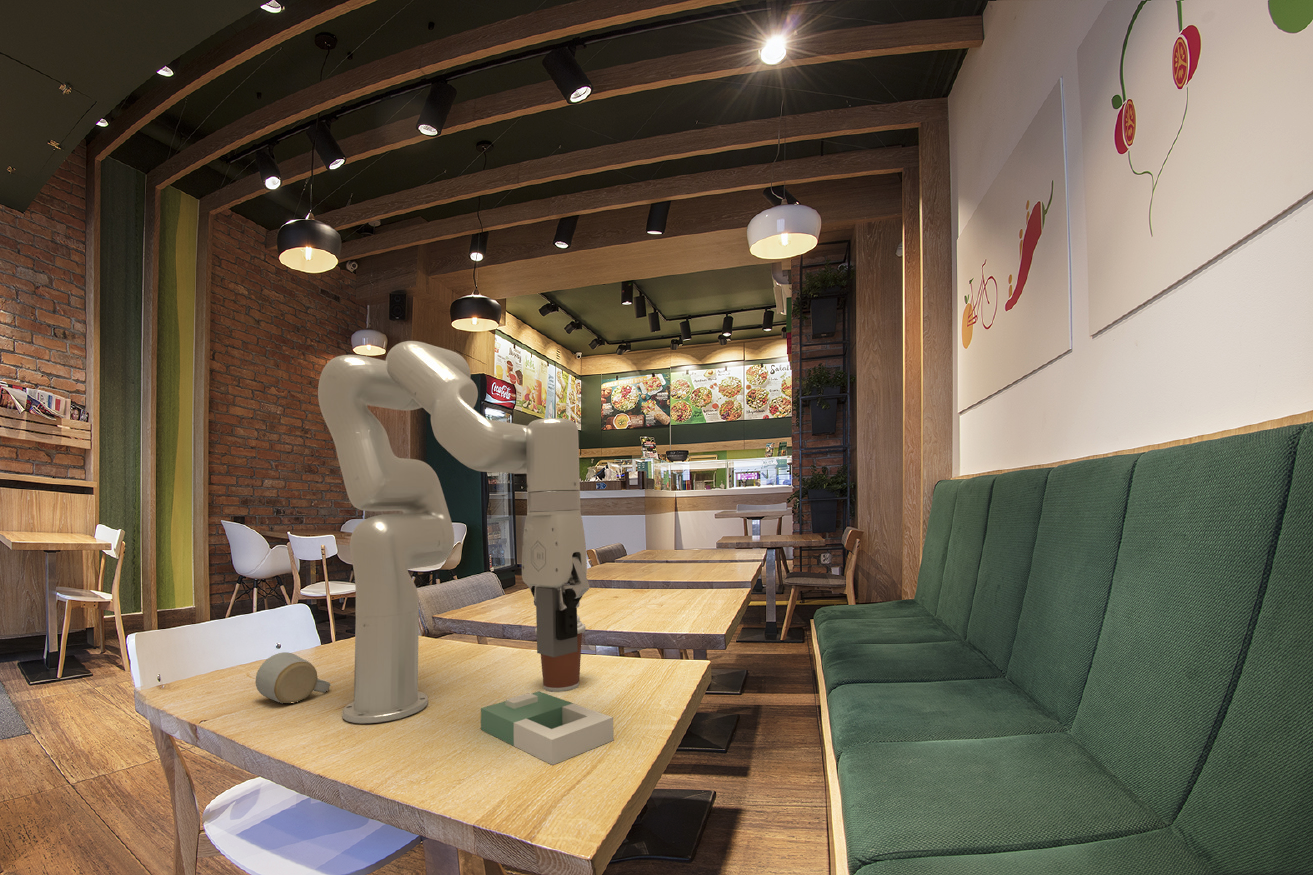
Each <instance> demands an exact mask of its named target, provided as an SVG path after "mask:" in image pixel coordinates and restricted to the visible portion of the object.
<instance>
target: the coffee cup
mask: <svg viewBox="0 0 1313 875" xmlns="http://www.w3.org/2000/svg"><path fill="white" fill-rule="evenodd" d="M580 619H581V618H580V615H578V614H577V631H578V634H577V647H578V651H577V652H573V653H569V654H565V655H561V656H557V657H551V656H547V655H543V654H540V661H541V662H540V664H541V673H542V685H543V690H545V691H547V692H552V693H553V692H554V693H556V692H557V693H559V692H566V691H567V692H568V691H572V690H575V689H577V688H578V687H579V686H580V678H581V677H580V674H581V656H582V641H583V640H582V638H583V633H584V632H585V631H587V630H586V628H587V627H586V625H585V624H584V623H583V622H582V621H581V620H580ZM534 634H535V636H537V626H536V627H535V629H534Z"/></svg>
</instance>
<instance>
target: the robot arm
mask: <svg viewBox="0 0 1313 875" xmlns="http://www.w3.org/2000/svg"><path fill="white" fill-rule="evenodd" d="M471 376H472V375H471V369H470V366H469V364H468V362H467V360H466V359H465V358H464V357H463V356H462V355H461V354H460V353H458V352H455V351H453V350H451V349H447V348H443V347H440V346H435V345H433V344H431V343H430V344H428V343H427V342H423V341H417V340H406V341H402V342H399V343H397V344H395V345H394V346H393V347H391V348H390V350H388V353H387V354H386V357H385V360H383V359H380V358H375V357H370V356H366V355H359V354H342V355H338V356H335V357H334V358H331V359H330V360H329V361H328V362H327V363H326V364H325V366H324V367H323V369H322V370H321V373H320V376H319V380H318V388H317V399H318V404H319V409H320V412H321V415H322V417H323V420H324V422H325V424H326V426H327V429H328V431H329V432H330V435H331V438H332V439H333V443H334V447H335V451H336V454H337V459H338V460H337V461H338V463H339V467H340V468H339V469H340V471H341V474H342V475H341V476H342V479H343V483H344V486H345V487H344V488H345V489H346V490H345V491H346V494H347V497H348V499H349V500H348V501H349V502H350V503H351V505H352V506H353V507H354V508H356V509H358V510H361V511H365V512H397V511H398V512H399V511H400V512H402V513H385V514H379V515H378V514H377V515H373V516H370V517H367V518H366V519H364V520H362V521H361V522H359V523H358V524H357V525H356V526H355V528H354V529H353V531H352V533H351V537H350V540H349V542H350V543H349V552H350V559H351V563H352V568H353V575H354V583H355V584H354V585H355V628H354V629H355V631H354V632H355V636H354V637H355V638H354V639H355V640H354V673H353V674H354V678H353V679H354V682H353V701H351V702H350V703H348V704H346V706H344V707H343V709H342V719H344V720H345V721H346V722H349V723H353V724H375V723H377V724H378V723H385V722H390V721H394V720H399V719H402V718H406V717H408V716H412V715H414V714H416V713H419V712H421V711H422V710H424V709H426V708H425V707H427V706H428V702H429V700H428V698H429V697H428V695H427V694H426V693H425V692H422V691H419V637H420V634H419V631H420V630H419V626H420V625H419V624H420V622H419V620H420V619H419V617H420V613H419V612H420V610H419V609H420V608H419V607H420V606H419V605H420V603H419V592H418V589H417V586H416V583H415V582H414V580H413V579H412V576H411V575H410V573H409V570H411V569H419V568H420V569H421V568H426V567H432V566H436V565H440V564H442V563H443V562H445V561H446V560H447V559H448V558H449V557H450V556H451V555H452V552H453V550H454V546H455V532H454V527H453V526H454V525H453V522H452V518H451V516H450V512H449V509H448V505H447V501H446V499H445V494H444V492H443V488H442V486H441V482H440V480H439V477H438V474H437V473H436V471H435V470H434V469H433V467H432V466H430V464H428V463H427V462H425V461H423V460H420V459H414V458H402V457H398V456H397V455H395V453H394V451H393V449H392V447H391V443H390V439H389V436H388V434H387V431H386V428H385V427H384V426H383V424H382V423H381V421H380V420H379V419H378V418H377V417H376V416H375V414H374V413H372V411H371V410H370V409H369V406H370V407H377V408H384V409H390V410H396V411H404V412H406V411H414V410H418V409H419V410H420V409H422V408H423V409H424V410H425V411H426V412H427V413H428V414H429V415H430V424H431V428H432V432H433V435H434V438H435V439H436V441H437V442H438V443H439V445H440V446H441V447H443V448H444V449H445V450H446V451H447V452H448V453H449V454H450V455H451V456H452V457H453V458H454V459H456V460H457V461H458V462H460V463H461V464H463V465H464V466H466V467H467V468H468V469H472V470H474V471H476V472H484V473H485V472H486V473H501V474H502V473H505V474H516V475H517V474H522V475H523V474H526V490H527V491H526V500H527V502H526V503H527V504H526V508H527V513H526V514H527V515H526V516H525V521H524V527H523V536H522V552H521V578H522V582H523V583H524V584H526V585H527V587H528V589H529V590H530V592H531V594H532V596H533V605H534V606H535V607H536V587H548V588H556V591H557V599H558V606H559V609H560V610H556V638H557V640H565V639H569V638H574V637H576V636H577V634H578V631H577V615H578V608H579V607H580V605H581V604H580V601H581V600H582V598H583V595H584V594H585V593H587V591H588V590H590V586H591V585H590V583H589V582H590V581H588V578H587V574H588V562H587V561H588V560H587V557H588V556H587V546H586V535H585V529H584V522H583V517H582V514H581V485H580V484H581V482H580V450H579V448H580V447H579V445H580V443H579V442H580V441H579V429H578V426H577V424H576V422H575V421H573V420H571V419H568V418H561V417H550V418H546V417H545V418H538V419H535V420H532V421H531V422H529V424H527V425H525V424H518V423H513V422H507V421H501V420H496V419H495V420H494V419H488V418H487V417H485V416H484V415H482V414H481V413H479V412H478V411H477V410H475V408H474V407H476V404H477V400H478V398H479V397H478V396H479V392H478V391H479V390H478V387H477V384H476V383H475V382H474V380H472V378H471ZM563 584H567V585H564V586H563ZM569 589H570V591H569V592H568V594H567V595H566V597H565V590H569ZM536 623H537V621H536Z"/></svg>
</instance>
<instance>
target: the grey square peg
mask: <svg viewBox="0 0 1313 875" xmlns="http://www.w3.org/2000/svg"><path fill="white" fill-rule="evenodd" d="M564 585H568V584H566V583H563V586H564ZM569 591H570V589H569V590H565V597H566V595H567V594H568V592H569ZM535 607H536V608H535V610H536V611H535V613H536V614H535V615H536V621H537V622H536V627H537V635H536V653H537V654H540V655H541V654H543V655H547V656H551V657H557V656H561V655H565V654H569V653H573V652H577V651H578V647H577V636H576V637H574V638H569V639H565V640H557V638H556V610H560V609H559V606H558V599H557V591H556V588H548V587H536V606H535Z"/></svg>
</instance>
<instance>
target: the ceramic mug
mask: <svg viewBox="0 0 1313 875" xmlns="http://www.w3.org/2000/svg"><path fill="white" fill-rule="evenodd" d="M255 686H256V690H257V691H258V692H259V694H260V695H262V696H263V697H266V698H268V699H270V700H272V701H274V702H277V703H279V702H280V704H283V703H291V702H297V701H300V700H302V699H304V700H305V699H306V698H308V697H309V696H310V695H311V694H312V693H313V691H314V692H319V693H327V692H328V691H329V689H330V686H331V683H330V682H329V681H326V680H323V679H320V678H318V672H317V670H316V667H315V666H314V665H313V664H312V663H311V662H310V661H309V660H307V659H304V658H302V657H300V656H298V655H296V654H294V653H292V652H287V651H285V652H284V651H283V652H278V653H276V654H273V655H271V656H269V657H268V658H267V659H265V660H264V662H263V663H261V665H260V667H259V668H258V670H257V672H256V675H255ZM327 690H328V691H327ZM326 691H327V692H326ZM302 701H303V700H302ZM300 702H301V701H300ZM297 703H298V702H297Z"/></svg>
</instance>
